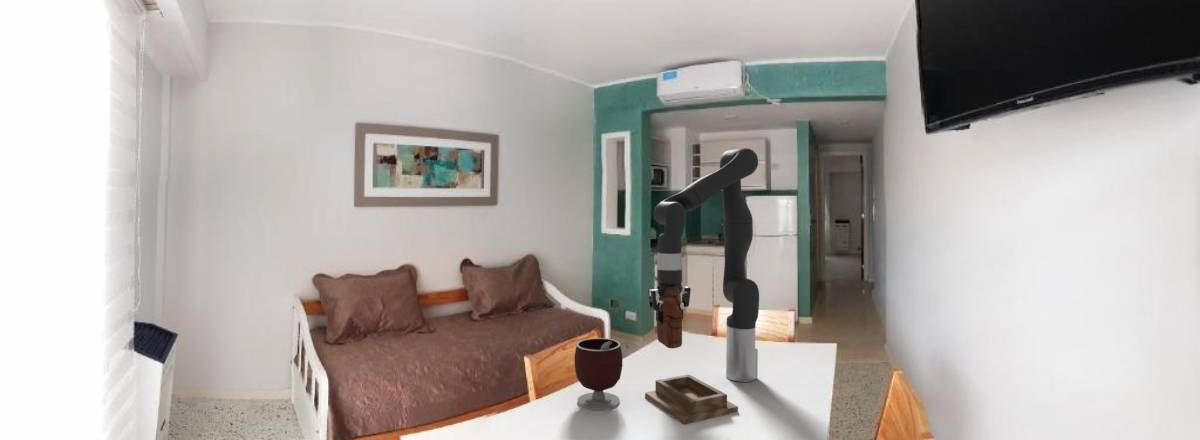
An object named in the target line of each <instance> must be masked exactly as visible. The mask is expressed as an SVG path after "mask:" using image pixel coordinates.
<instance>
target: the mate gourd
mask: <svg viewBox="0 0 1200 440" xmlns="http://www.w3.org/2000/svg"><path fill="white" fill-rule="evenodd" d="M575 344H576V347H575V351H574V369H575V376H576V379H577V380H578V382H579V383H580V384H581V385H582V387H584V388H585V389H588V390H592V392H587V393H584V394H581V395H580V396H579V397H578V398H577V405H578V407H580V408H581V409H584V410H587V411H594V412H604V411H605V412H606V411H610V410H612V409H615V408H617V407H618V406H619V405H620V403H621V401H620V397H618V395H616V394H613V393H610V392H604V391H605V390H609V389H613V388H614V387H615V386H616V385H617V383H619V380H620V379H621V375H622V371H623V352H622V347H621V342H620V341H618V340H616V339H612V338H604V337H592V338H591V337H590V338H585V339H581V340H579V341H578V342H576V343H575Z"/></svg>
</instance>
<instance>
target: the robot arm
mask: <svg viewBox="0 0 1200 440" xmlns="http://www.w3.org/2000/svg"><path fill="white" fill-rule="evenodd" d="M758 166H759V157H758V155H757V153H756V152H755V151H754V150H753V149H751V148H747V147H741V148H736V149H728V150H726V151H724V152H723V154H722V155H721V156H720V159H719V169H718V170H716V171H714V172H712V173H711V172H710V174H707V175H704V176H703V177H701V178H699V179H697V180H695V181H694V182H692V183H691V184H689V185H688V186H686V187H685V188H683V190H681V191H680V192H678V193H676V194H673V195H671V196H669V197H668V198H665V199H664V200H662V201H660V202H659V203H658V204H657V205H656V206H655V207H654V210H653V217H654V220H655V222H657V223H658V224H660V225H664V226H665V227H664V231H663V233H660V234H659V236H658V238H657V258H656V264H657V265H656V266H657V267H656V269H657V272H656V274H657V275H656V279H657V280H656V281H657V287H656V288H655V289H648V290H647V291H648V292H647V294H648V303H649V308H650V309H651V310H653V311H655V321H656V323H657V322H658V323H659V324H663V312H662V310H663V301H660V297H663V291H664V290H665V288H666V287H668V286H676V287H677V288H678V289H679V291H680V294H681V293H682V294H681V305H680V306H679V309H680V310H681V312H682V320H683V319H684V309H685V308H689V306H690V300H691V292H692V291H691V290H692V289H691V287H689V286H685V285H684V286H682V283H683V257H682V237H683V234H684V230H685V227H686V221H687V212H691V211H694V210H696V209H697V208H699V207H700V206H701V205H703V204H705V202H707V201H708V200H710V199H711V198H712V197H714V196H715V195H717V194H718V193H719V192H721V191H722V200H723V201H722V202H723V204H722V205H723V238H724V239H723V240H724V241H723V242H724V247H723V249H724V268H723V269H724V270H723V279H722V280H723V281H722V291H723V293H722V294H723V296H724V298H725V299H726V300H727V302H729V303H732V311H731V314H729V315H727V317H726V338H725V339H726V342H725V343H726V344H725V345H726V346H725V347H726V348H725V351H726V352H725V355H726V357H725V359H726V361H725V363H726V367H725V369H726V371H725V372H726V373H725V375H726V378H727V379H728V380H731V381H733V382H740V383H750V382H753V381H755V380H756V379H757V378H758V373H759V372H758V369H759V368H758V366H759V365H758V363H759V362H758V359H759V358H758V357H759V352H758V351H759V350H758V348H756V325H757V324H756V323H757V321H758V318H759V310H760V290H759V286H758V284H757V283H756V282H755V281H754V280H752V279H749V278H747V277H746V259H747V255H748V252H749V250H750V247H751V245H752V241H753V235H754V233H753V232H754V227H753V226H754V225H753V223H754V221H753V215H752V213H751V210H750V208H749V205H748V204H747V202H746V200H745V198H744V195H743V192H742V180H743V179H745V178H746V177H749V176H751V175H752V174H754V173H755V172H756V170H757V169H758ZM658 295H659V297H658ZM657 298H658V300H657Z"/></svg>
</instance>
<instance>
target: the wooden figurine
mask: <svg viewBox="0 0 1200 440" xmlns="http://www.w3.org/2000/svg"><path fill="white" fill-rule="evenodd" d="M658 297H659V294H657V297H656V301H657V300H658ZM681 299H682V295H681V293H680V291H679V289H678V288H677V287H676V286H668V287H666V288H665V290H664V291H663V297H660V301H663V310H662V312H663V324H659V323H658V322H657V321H656V331H657V335H656V336H657V340H658V343H660V344H662V345H663V346H664V347H666V348H668V349H677V348H681V347H682V345H683V319H682V312H681V310H680V309H679V306H680V305H681Z"/></svg>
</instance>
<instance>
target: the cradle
mask: <svg viewBox="0 0 1200 440" xmlns="http://www.w3.org/2000/svg"><path fill="white" fill-rule="evenodd" d="M644 398H645V399H646V400H648V401H649V402H651V403H653V404H654V405H655V406H656V407H659V408H660V409H661V410H662V411H664V412H665V413H667V414H668V415H669V416H671V417H673V418H674V419H675V420H677V421H678V422H680V423H681V424H682V425H687V424H690V423H691V424H692V423H696V422H699V421H700V422H701V421H704V420H709V419H712V418H713V419H714V418H718V417H722V416H727V415H730V414H736V413H738V412H739V406H737V405H736V404H734V403H732V402H730V401H729V400H728V394H726V393H725V392H723V391H721V390H719V389H717V388H716V387H714V386H712V385H710V384H708V383H706V382H704V381H702V380H700V379H699V378H697V377H695V376H693V375H691V374H690V373H689V374H684V375H678V376H672V377H667V378H660V379H657V380H655V390H651V391H645V392H644Z"/></svg>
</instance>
